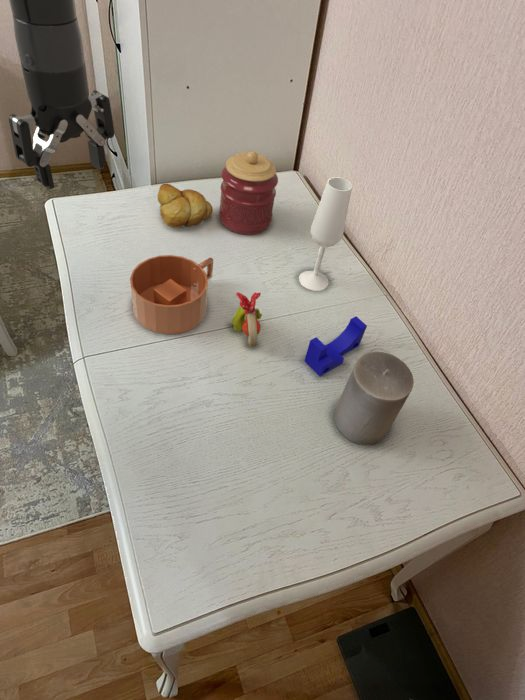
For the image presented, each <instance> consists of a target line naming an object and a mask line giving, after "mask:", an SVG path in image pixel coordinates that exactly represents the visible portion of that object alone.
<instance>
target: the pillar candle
mask: <svg viewBox="0 0 525 700" xmlns="http://www.w3.org/2000/svg"><path fill="white" fill-rule="evenodd" d="M412 373H413V372H412V371H411V369H410V368H409V366H408V365H407V364H406V362H404V361H403V360H402V359H400V358H399V357H397V356H395V355H394V354H392V353H389V352H385V351H377V350H376V351H370V352H366V353H364V354H362V355H360V356H359V357H358V358H356V359H355V360H354V363H353V365H352V369H351V372H350V374H349V376H348V379H347V381H346V383H345V386H344V388H343V391H342V393H341V395H340V398H339V400H338V403H337V405H336V408H335V410H334V414H333V418H334V419H333V421H334V424H335V426H336V427H337V429H338V431H339V432H340V433H341V434H342V436H343V437H344V438H346V439H347V440H348V441H350V442H352V443H355V444H357V445H362V446H368V445H375V444H377V443H379V442H381V441H383V439H384V438H385V437H386V435H387V433H388V432H389V430H390V429H391V427H392V425H393V423H394V422H395V420H396V418H397V417H398V415H399V414H400V411H401V410H402V408H403V406H404V404H405V403H406V402H407V399H408V398H409V395H410V394H411V393H412V390H413V387H414V384H415V381H414V376H413V374H412Z"/></svg>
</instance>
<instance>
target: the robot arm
mask: <svg viewBox="0 0 525 700" xmlns="http://www.w3.org/2000/svg"><path fill="white" fill-rule="evenodd" d="M8 1H9V6H10V11H11V14H12V20H13V29H14V30H13V32H14V40H15V43H16V48H17V53H18V56H19V62H20V67H21V72H22V76H23V80H24V84H25V89H26V93H27V97H28V99H29V103H30V106H31V107H30V111H29V114H26V115H21V116H18V115H17V114H15V113H11V114H10V115H9V116H8V123H9V129H10V133H11V139H12V143H13V148H14V153H15V158H16V159H17V160H18V161H21V162H22V163H24V165H25V166H27V167H29V168H33V169H34V174H35V177H36V181H37V182H38V184H39V185H41V186H43V187H44V188H46V189H47V190H49V191H51V190H53V189H54V188H55V182H54V177H53V172H52V169H51V165H50V164H49V162H50V159H51V157H52V154H53V153H55V152H56V151H57V149H58V146H59V144H60V143H66V142H67V141H69V140H70V139H77V138H79V137H81V134H83V135H84V136H85V137H87V139H88V141H87V147H88V153H89V154H88V155H89V161H90V165H91V166H92V168H93V167H94V168H95V169H97V170H98V171H101V170H102V169H104V168H105V166H104V165H105V163H106V154H105V146H104V145H105V143H106V140H107V139H112V138H114V136H115V127H114V121H113V114H112V107H111V100H110V98H109V97H108V96H106V95H105V94H103V93H101V92H100V91H98V90H96V89H95V90H92V91H91V94H90V89H89V88H90V87H89V81H88V74H87V66H86V59H85V51H84V44H83V36H82V32H81V29H80V26H79V21H78V15H77V7H76V1H75V0H8ZM92 111H93V113H94V119H95V124H96V128H95V126H93V124H91V123H90V121H88V120H89V118H90V115H91V112H92ZM34 126H36V128H35V130H34V131H33V128H34ZM32 135H33V136H32ZM46 137H48V140H46ZM32 141H33V142H32Z"/></svg>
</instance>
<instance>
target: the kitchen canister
mask: <svg viewBox="0 0 525 700" xmlns="http://www.w3.org/2000/svg"><path fill="white" fill-rule="evenodd" d="M220 173H221V179H222V181H221V184H220V200H219V201H220V202H219V207H218V216H219V221H220V223H221V225H222V226H223V227H224V228H225V229H226V230H229V231H230V232H233V233H236V234H239V235H245V236H253V235H258V234H261V233H263V232H265V231H266V230H267V229H268V228H269V227H270V225H271V222H272V220H273V211H274V203H275V198H276V197H277V196H276V195H277V190H276V187H277V185H278V183H279V178H278V175H277V168H276V166H275V164H274V163H273V162H272V161H271V160H270V159H269V158H267V157H265V156H264V155H262V154H259V153H257V152H256V151H253V150H250V151H248V152H247V151H245V152H239V153H238V154H235V155H233V156H231V157H229V158H228V159H227V160H226V161H225V166H224V168H222V170H221V172H220Z"/></svg>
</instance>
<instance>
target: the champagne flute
mask: <svg viewBox="0 0 525 700" xmlns="http://www.w3.org/2000/svg"><path fill="white" fill-rule="evenodd" d="M352 190H353V184H352V182H351V181H350V180H348V179H346V178H344V177H340V176H332V177H329V178H328V179H327V181H326V184H325V186H324V190H323V192H322V195H321V198H320V201H319V204H318V205H317V210H316V212H315V215H314V217H313V221H312V223H311V226H310V236H311V237H312V240H313V241H314V242H315V244H317V245H318V246H319V250H318V253H317V255H316V256H317V257H316V259H315V264H314V268H313V270H305V271H302V272H301V273H300V274H299V276H298V281H299V283H300V284H301V286H303V287H304V288H305V289H307V290H310V291H315V292H319V291H323V290H325V289H327V288H328V286H329V279H328V277H327V276H326V275H325V274H323V273H322V272H320V269H321V266H322V262H323V258H324V254H325V251H326V248H330V247H334V246H335V245H337V244H339V242H340V241H342V239H343V237H344V233H345V228H346V221H347V218H348V217H347V216H348V212H349V211H348V210H349V206H350V200H351V196H352Z"/></svg>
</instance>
